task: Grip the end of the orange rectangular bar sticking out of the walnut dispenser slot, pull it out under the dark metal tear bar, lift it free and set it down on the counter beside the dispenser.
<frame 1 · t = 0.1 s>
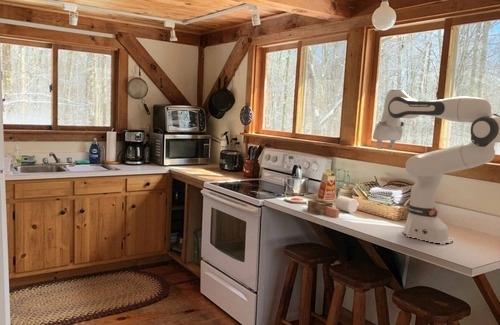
hand: (384, 148, 226), 39 cm above the breakfast bar counter, tool pointing down, fingers open, 8 cm apart
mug: (348, 211, 255), on the breakfast bar counter
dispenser: (319, 212, 247), on the breakfast bar counter
orange rectangular bar: (326, 214, 243), on the breakfast bar counter
milk carton: (326, 200, 282), on the breakfast bar counter
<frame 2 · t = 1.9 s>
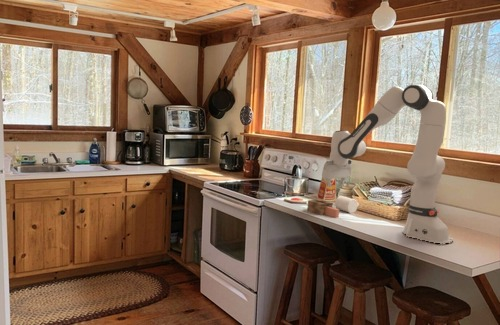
hand: (335, 186, 237), 16 cm above the breakfast bar counter, tool pointing down, fingers open, 8 cm apart
nothing on the breakfast bar counter moved.
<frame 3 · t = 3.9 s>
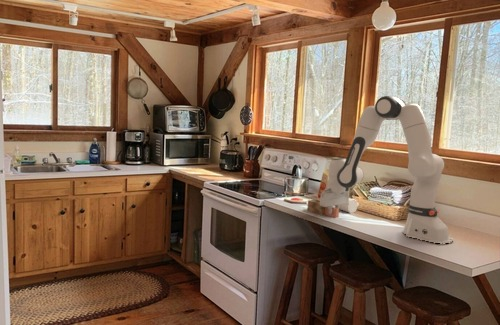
hand: (333, 213, 239), 2 cm above the breakfast bar counter, tool pointing down, fingers closed on orange rectangular bar, 2 cm apart
orange rectangular bar: (326, 214, 243), on the breakfast bar counter, touching gripper
everything else where it was.
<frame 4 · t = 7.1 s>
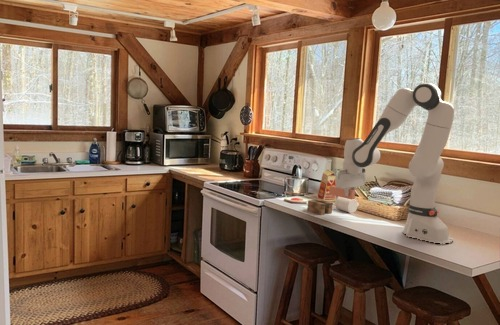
hand: (349, 195, 231), 13 cm above the breakfast bar counter, tool pointing down, fingers closed on orange rectangular bar, 2 cm apart
orange rectangular bar: (341, 196, 235), point 12 cm above the breakfast bar counter, touching gripper
everything else where it was.
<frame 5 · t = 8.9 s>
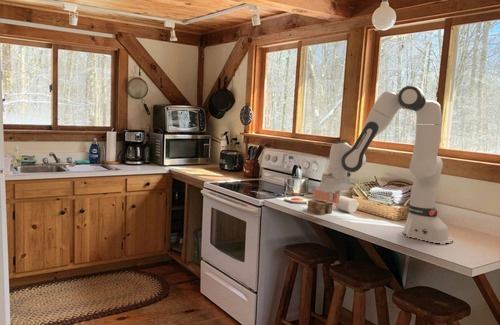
hand: (333, 199, 229), 11 cm above the breakfast bar counter, tool pointing down, fingers closed on orange rectangular bar, 2 cm apart
orange rectangular bar: (326, 200, 233), point 10 cm above the breakfast bar counter, touching gripper
everything else where it was.
when the fingers open (3 cm above the breakfast bar counter, at t = 10.5 s): orange rectangular bar drops 1 cm, on the breakfast bar counter.
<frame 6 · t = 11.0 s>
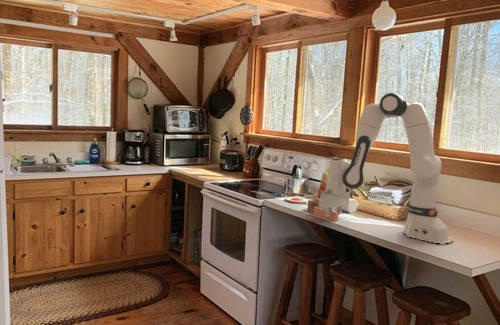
hand: (332, 215, 230), 3 cm above the breakfast bar counter, tool pointing down, fingers open, 8 cm apart
orange rectangular bar: (325, 218, 235), on the breakfast bar counter
everything else where it was.
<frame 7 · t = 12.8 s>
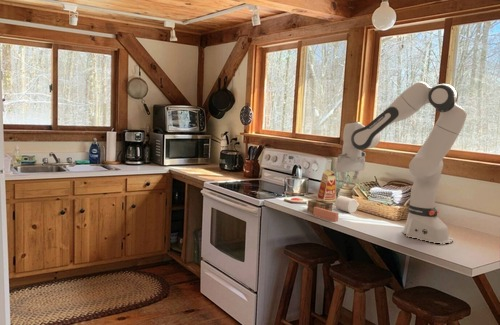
hand: (349, 180, 230), 21 cm above the breakfast bar counter, tool pointing down, fingers open, 8 cm apart
nothing on the breakfast bar counter moved.
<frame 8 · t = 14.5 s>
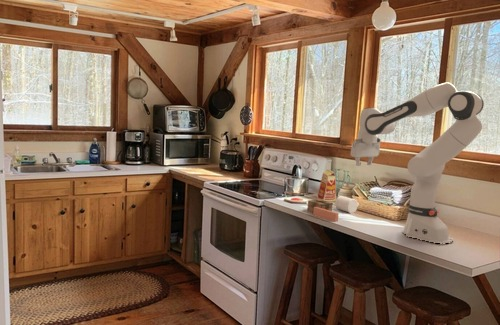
hand: (363, 165, 232), 29 cm above the breakfast bar counter, tool pointing down, fingers open, 8 cm apart
nothing on the breakfast bar counter moved.
at the end: orange rectangular bar inside the target area (4.9 cm from its centre), on the breakfast bar counter; orange rectangular bar moved 8.6 cm from its start; the gripper is holding nothing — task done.
